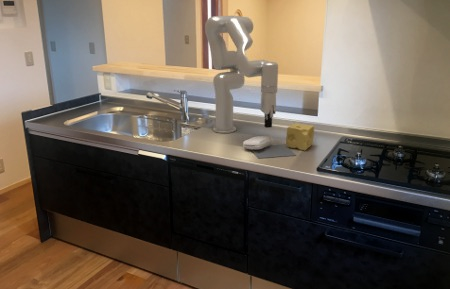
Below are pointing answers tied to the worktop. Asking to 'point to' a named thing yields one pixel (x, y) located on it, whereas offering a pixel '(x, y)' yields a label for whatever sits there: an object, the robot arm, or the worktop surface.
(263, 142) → the photo printer
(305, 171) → the worktop surface
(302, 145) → the cheese
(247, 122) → the worktop surface
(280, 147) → the mat
